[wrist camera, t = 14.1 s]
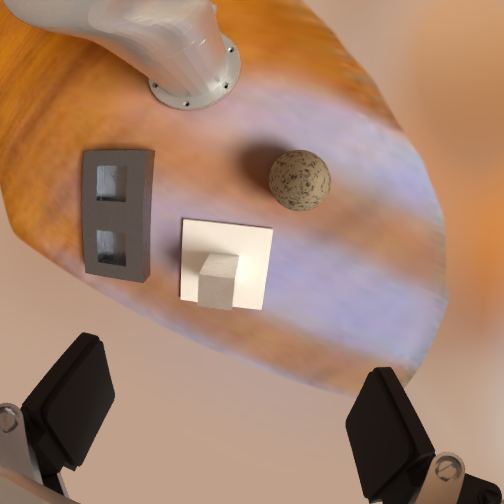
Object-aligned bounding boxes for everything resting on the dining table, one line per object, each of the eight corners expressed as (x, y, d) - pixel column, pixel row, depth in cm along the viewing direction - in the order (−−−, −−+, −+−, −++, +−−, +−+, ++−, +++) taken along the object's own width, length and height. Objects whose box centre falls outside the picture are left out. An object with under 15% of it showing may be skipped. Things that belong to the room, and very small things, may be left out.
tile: (184, 218, 38) (183, 219, 37) (272, 228, 38) (273, 229, 37) (181, 297, 41) (180, 299, 41) (261, 307, 41) (261, 309, 41)
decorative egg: (276, 211, 37) (282, 228, 28) (260, 159, 35) (261, 158, 26) (327, 197, 36) (350, 209, 27) (313, 145, 34) (332, 139, 25)
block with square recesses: (94, 151, 35) (84, 151, 32) (154, 150, 35) (146, 150, 32) (94, 266, 40) (85, 273, 37) (150, 275, 40) (143, 282, 37)
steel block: (210, 252, 38) (198, 274, 31) (239, 255, 38) (234, 278, 31) (208, 279, 40) (197, 305, 32) (236, 282, 40) (231, 310, 32)
